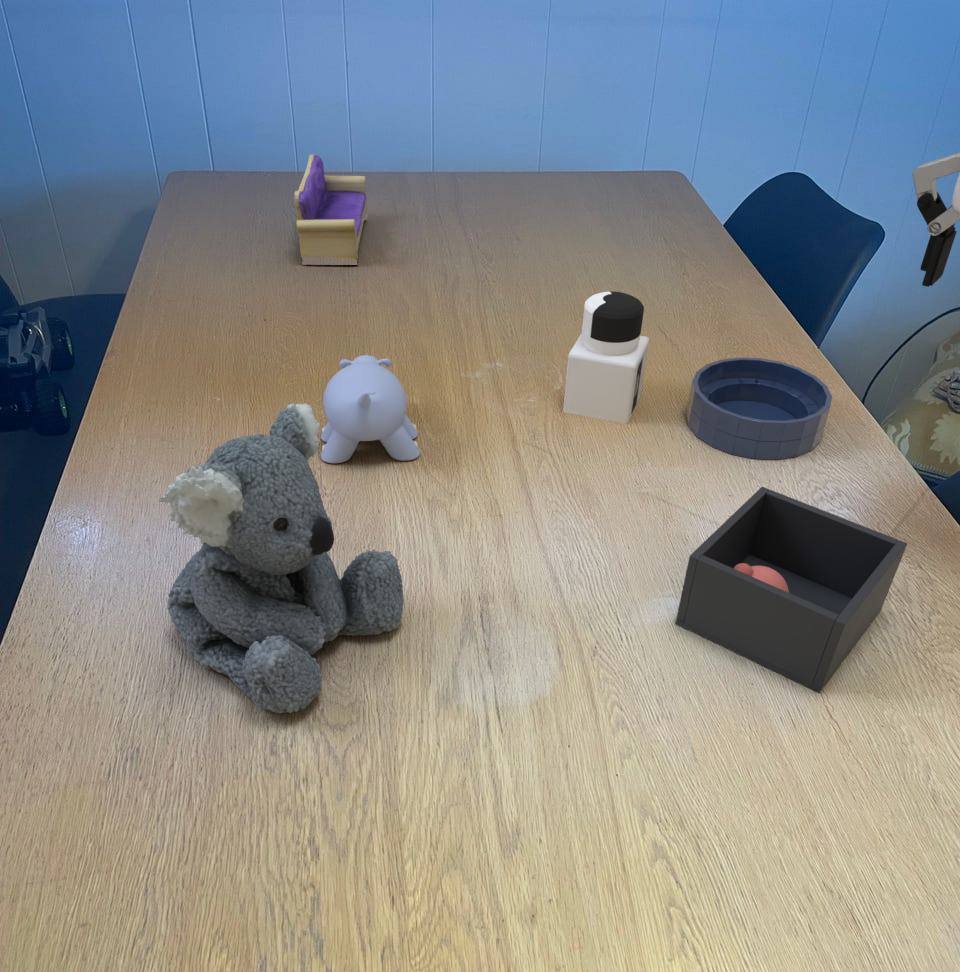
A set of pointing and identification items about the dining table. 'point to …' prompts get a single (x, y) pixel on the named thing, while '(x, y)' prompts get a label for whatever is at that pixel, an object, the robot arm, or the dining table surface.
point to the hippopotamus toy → (366, 411)
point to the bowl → (758, 408)
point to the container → (607, 359)
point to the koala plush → (271, 567)
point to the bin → (789, 586)
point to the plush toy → (764, 575)
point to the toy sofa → (330, 212)
